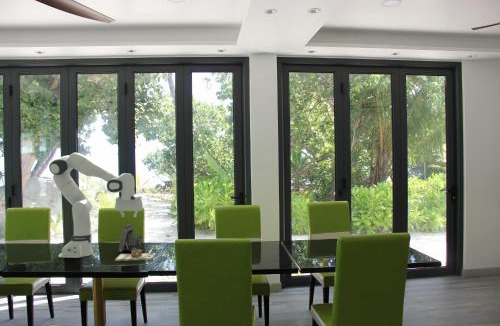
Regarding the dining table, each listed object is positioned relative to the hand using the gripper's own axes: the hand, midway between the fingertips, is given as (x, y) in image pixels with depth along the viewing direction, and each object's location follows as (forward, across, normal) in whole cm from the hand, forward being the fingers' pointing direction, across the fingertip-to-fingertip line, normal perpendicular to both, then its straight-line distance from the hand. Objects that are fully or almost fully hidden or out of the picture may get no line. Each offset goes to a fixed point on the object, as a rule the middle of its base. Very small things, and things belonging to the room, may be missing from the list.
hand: (129, 217), depth 260 cm
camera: (+28, -11, +17) cm, 35 cm away
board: (+28, +4, +1) cm, 28 cm away
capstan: (+27, +6, 0) cm, 27 cm away
